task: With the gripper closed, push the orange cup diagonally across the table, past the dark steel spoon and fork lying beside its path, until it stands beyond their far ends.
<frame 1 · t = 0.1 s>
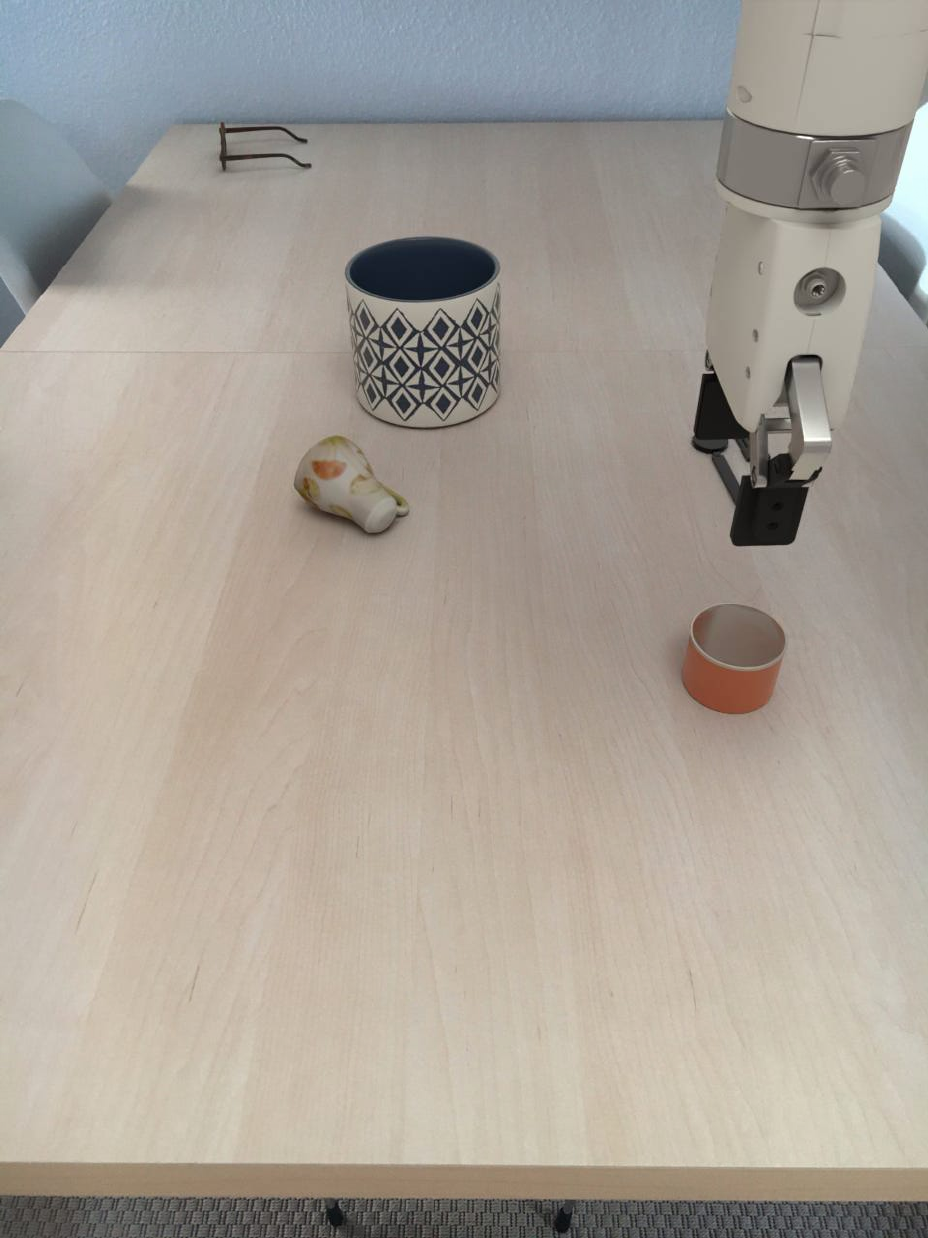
hand: (739, 486, 54), 25 cm above the table, tool pointing down, fingers open, 9 cm apart
planter: (428, 394, 110), on the table
fork: (765, 472, 98), on the table
orange cup: (727, 680, 77), on the table
eyeglasses: (266, 159, 167), on the table
mug: (357, 514, 94), on the table
spoon: (726, 475, 97), on the table
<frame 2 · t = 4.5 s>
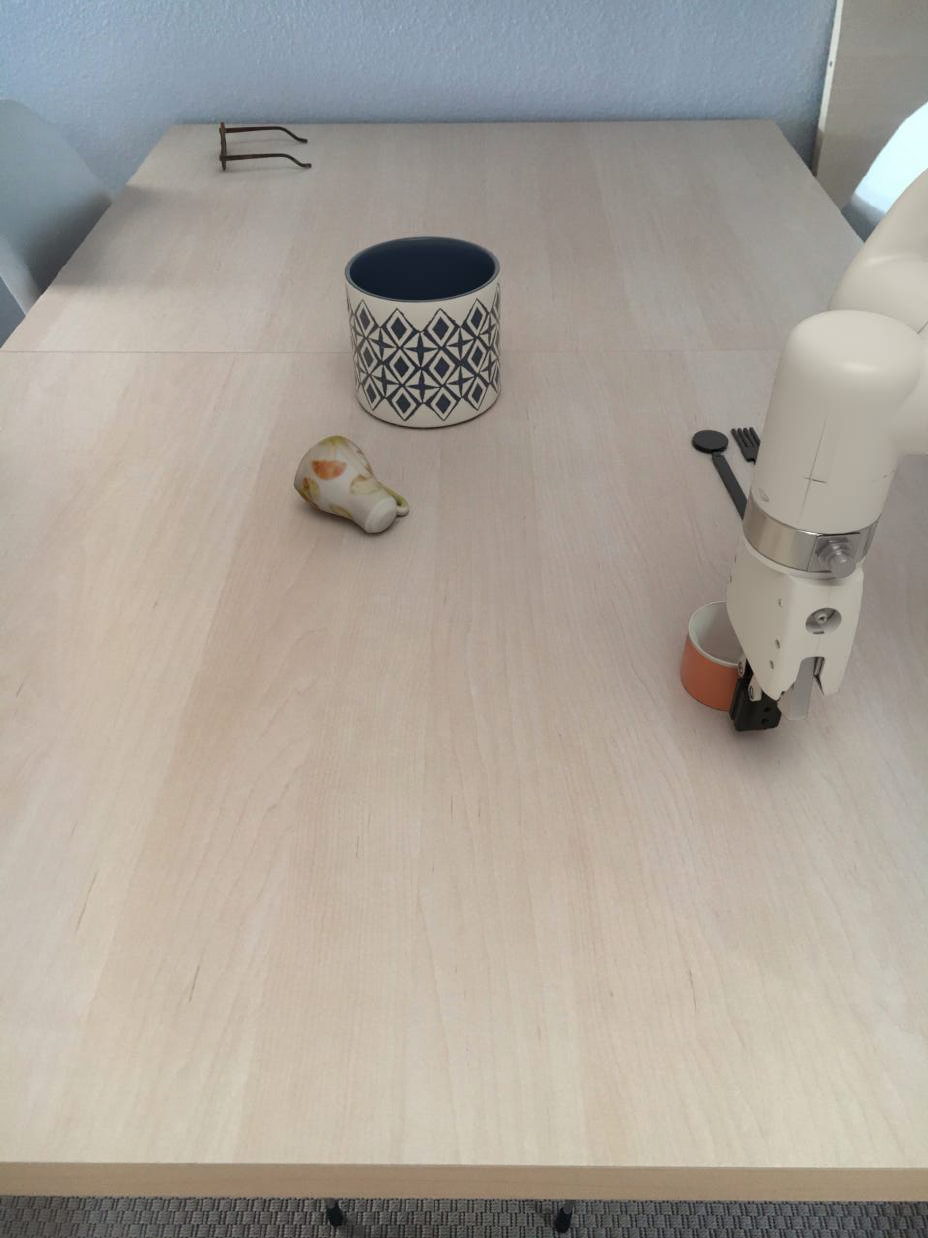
hand: (752, 721, 72), 2 cm above the table, tool pointing down, fingers closed
orange cup: (725, 678, 77), on the table, touching gripper
everything else where it was.
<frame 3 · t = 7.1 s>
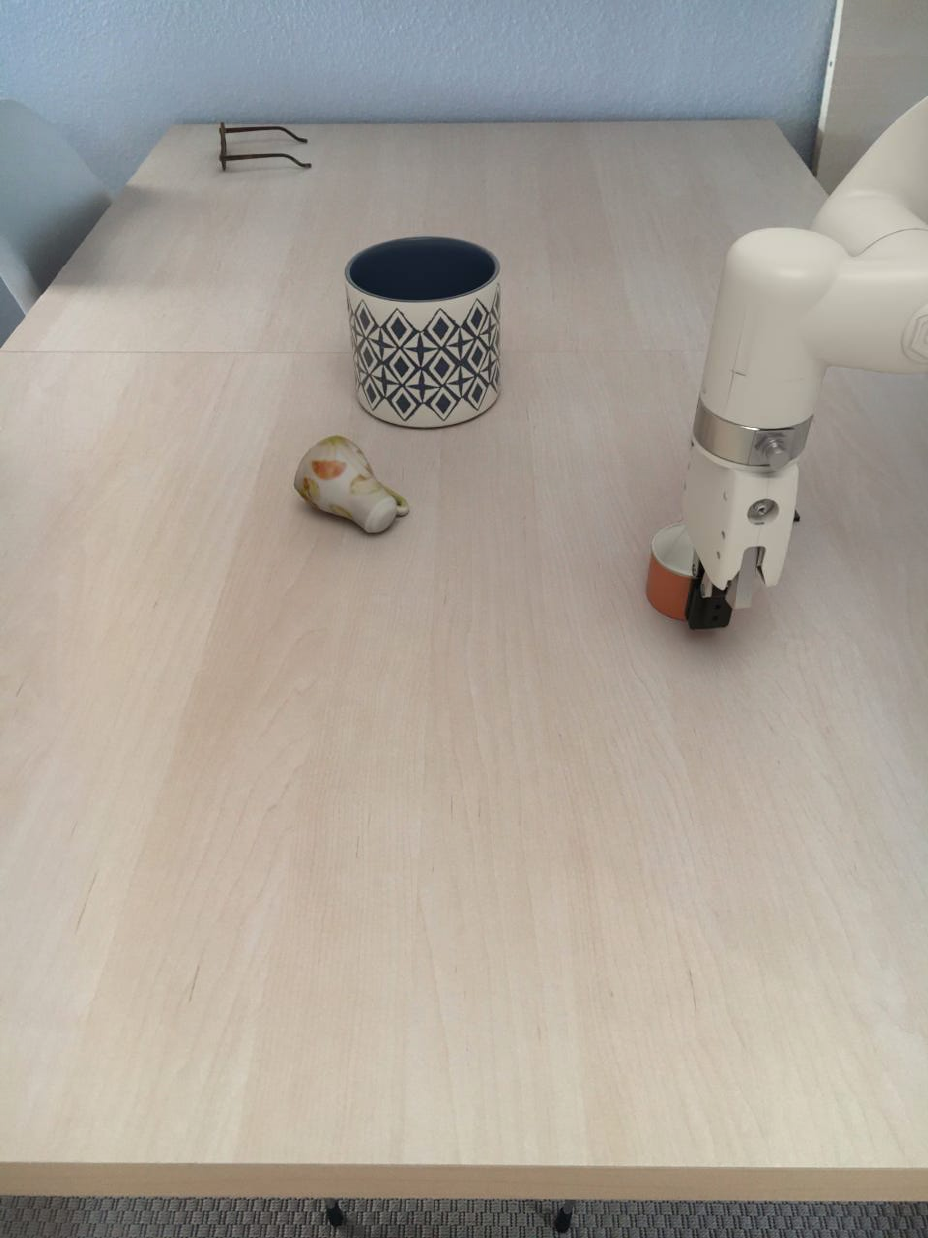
hand: (705, 621, 79), 2 cm above the table, tool pointing down, fingers closed
orange cup: (687, 593, 85), on the table, touching gripper
everything else where it was.
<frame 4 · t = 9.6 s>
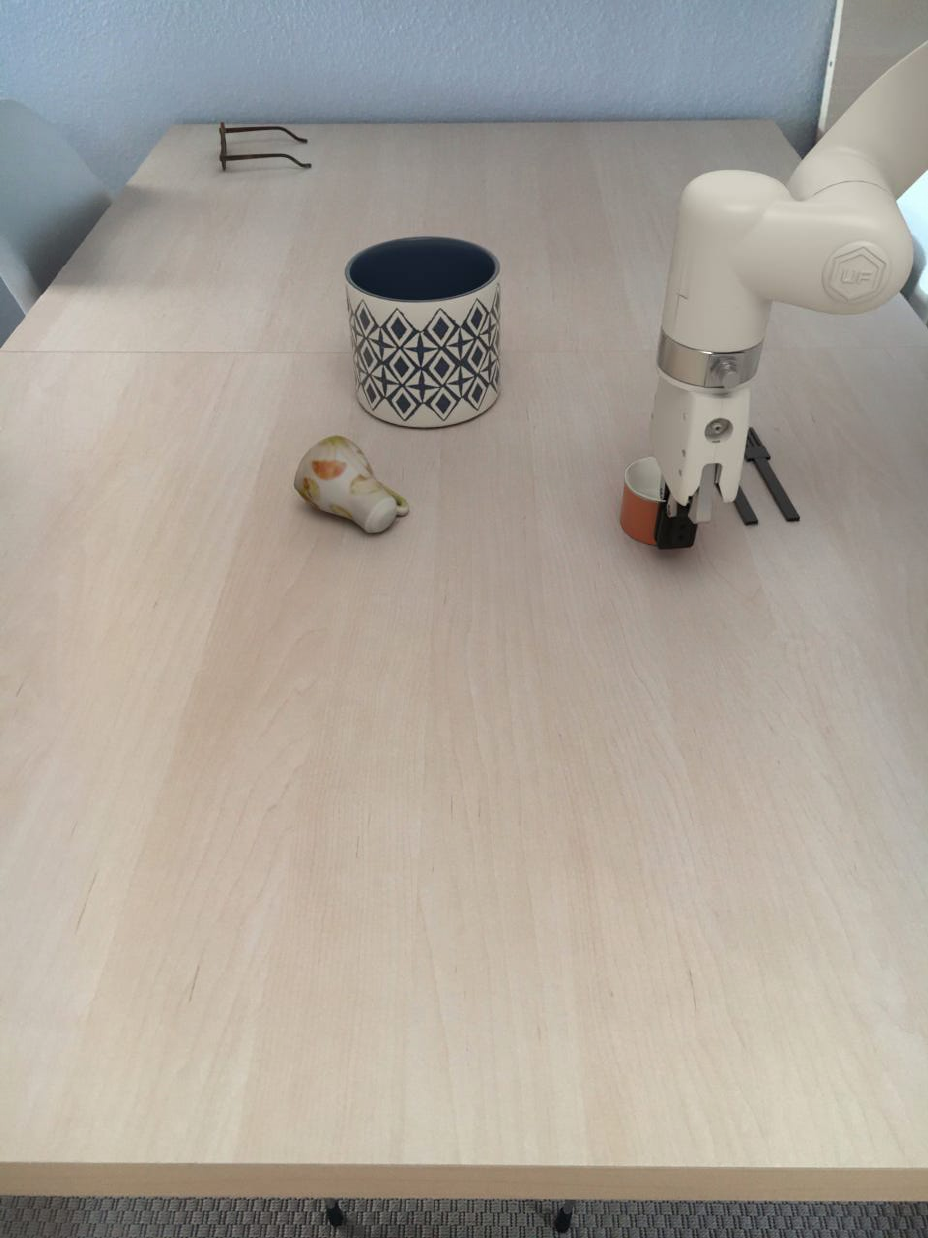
hand: (672, 542, 86), 2 cm above the table, tool pointing down, fingers closed
orange cup: (657, 522, 92), on the table, touching gripper
everything else where it was.
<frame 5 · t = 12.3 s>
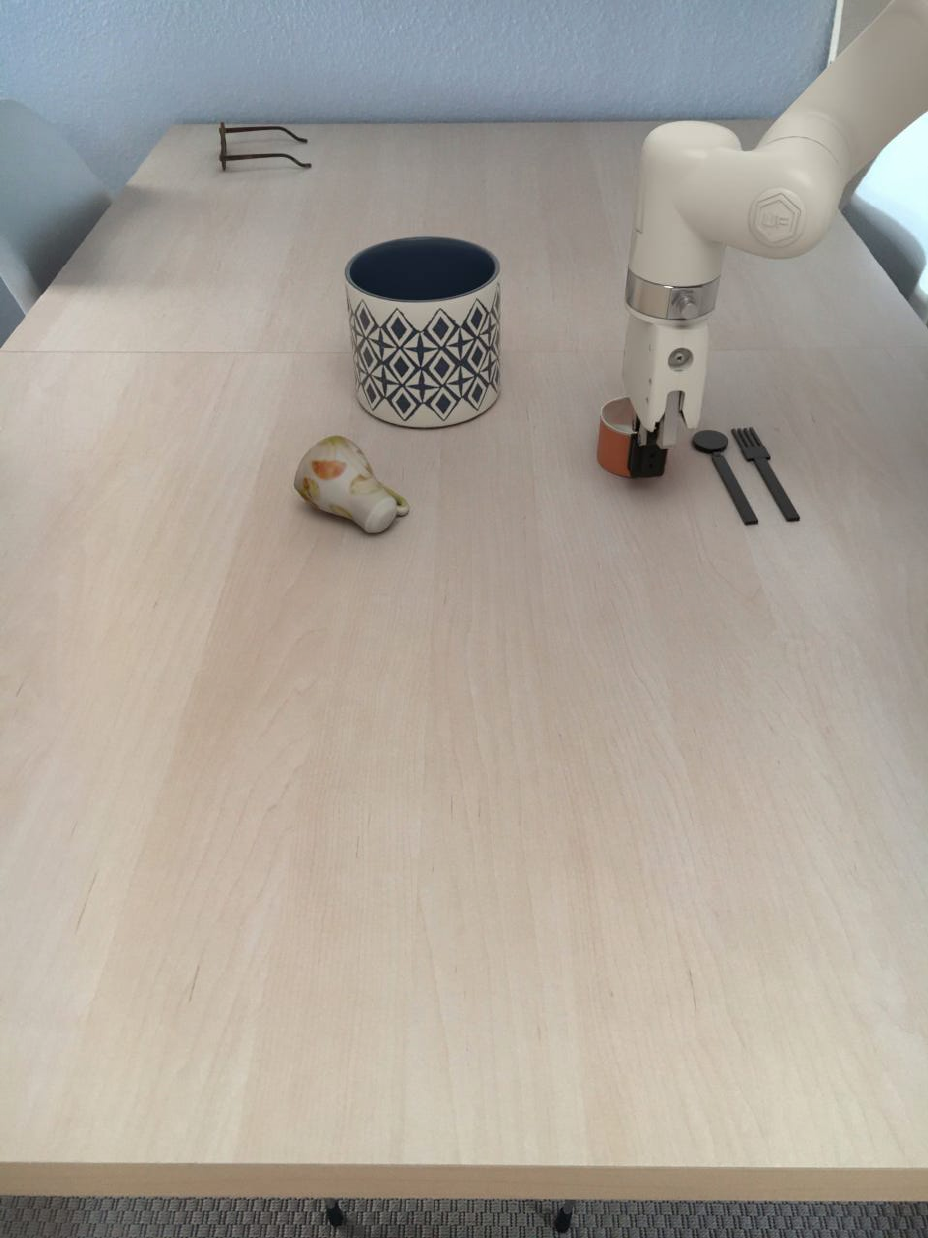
hand: (644, 472, 94), 2 cm above the table, tool pointing down, fingers closed
orange cup: (631, 457, 100), on the table, touching gripper
everything else where it was.
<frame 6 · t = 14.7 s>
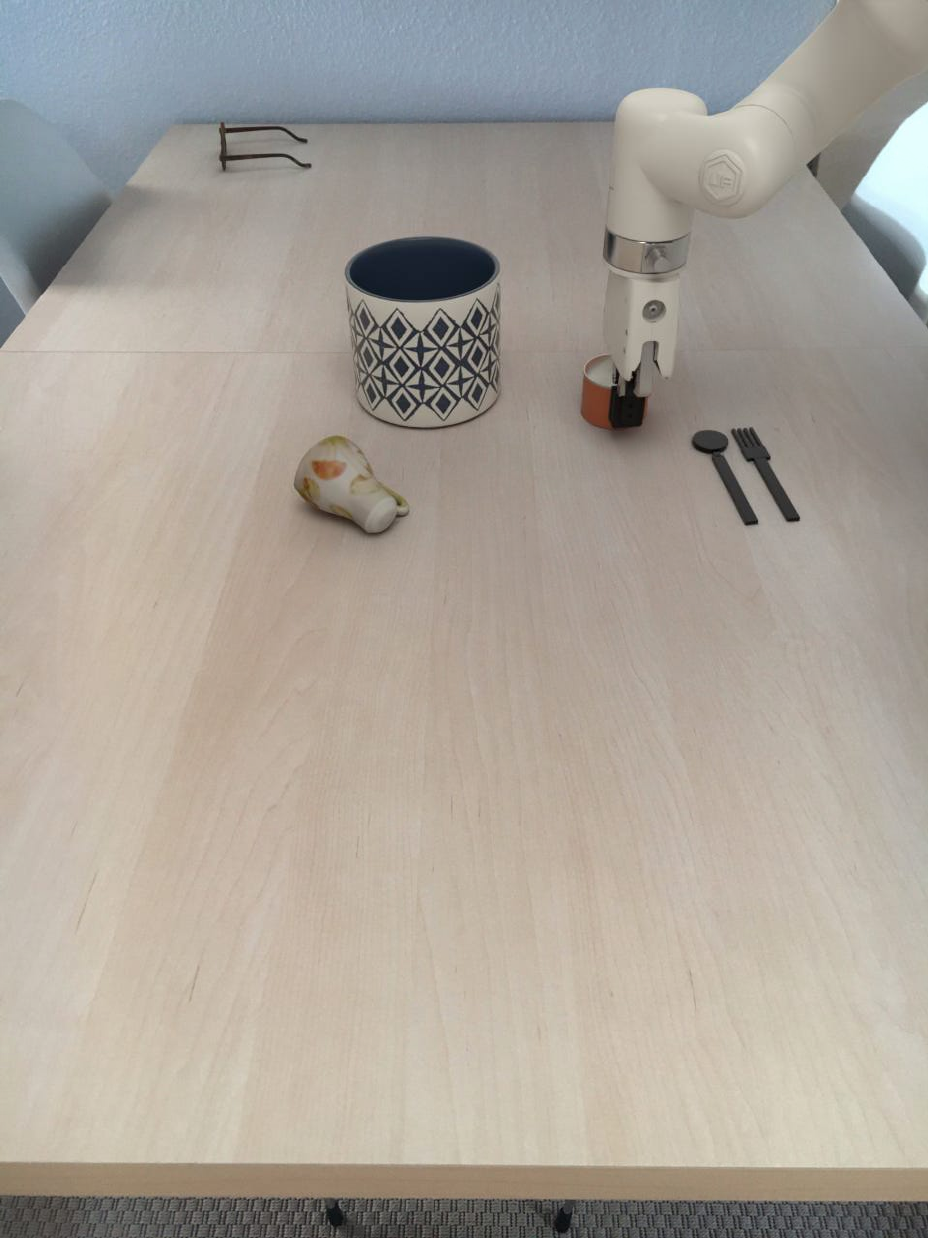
hand: (624, 422, 101), 2 cm above the table, tool pointing down, fingers closed
orange cup: (613, 411, 106), on the table, touching gripper
everything else where it was.
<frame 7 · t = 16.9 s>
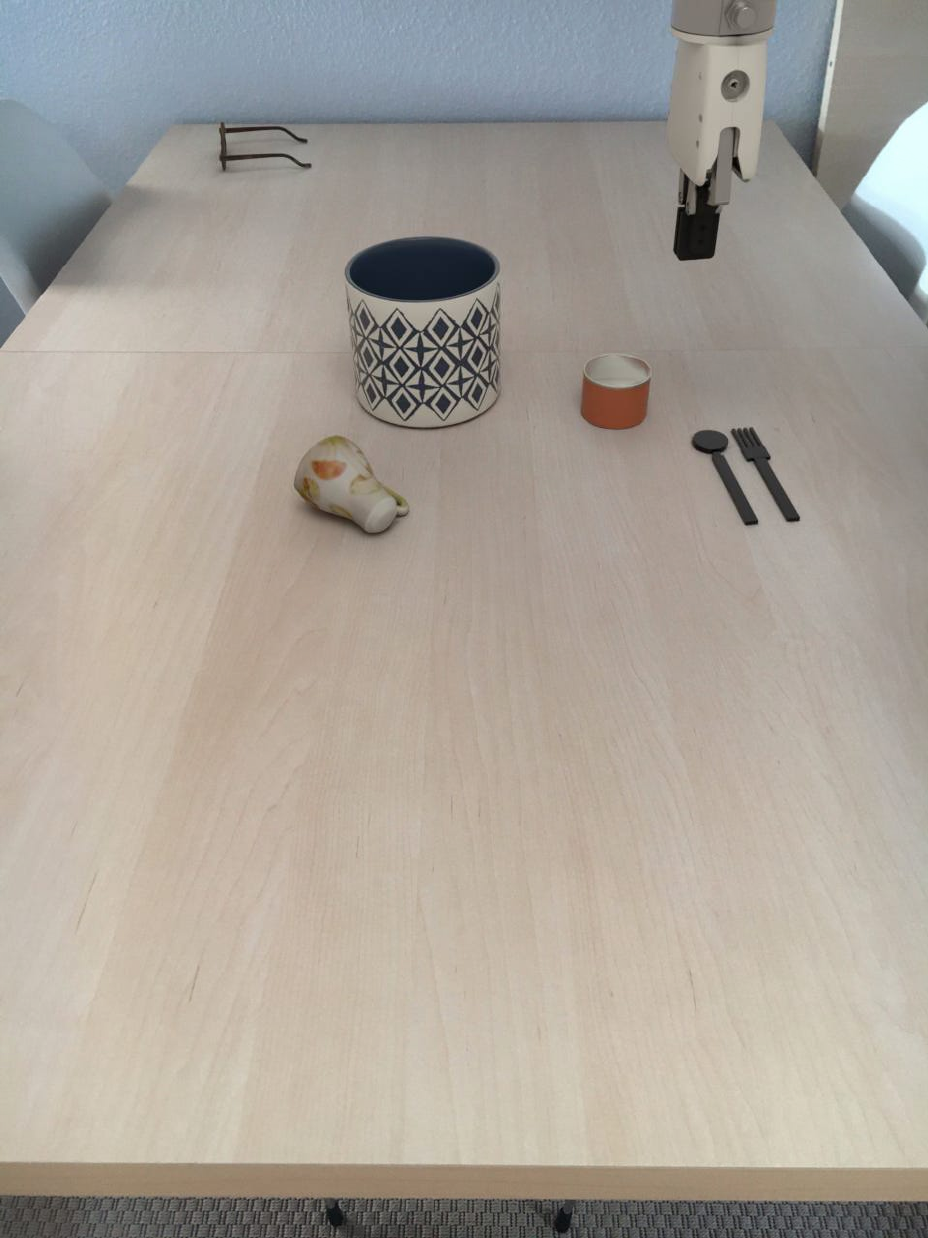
hand: (693, 255, 85), 21 cm above the table, tool pointing down, fingers closed
orange cup: (613, 411, 106), on the table
everything else where it was.
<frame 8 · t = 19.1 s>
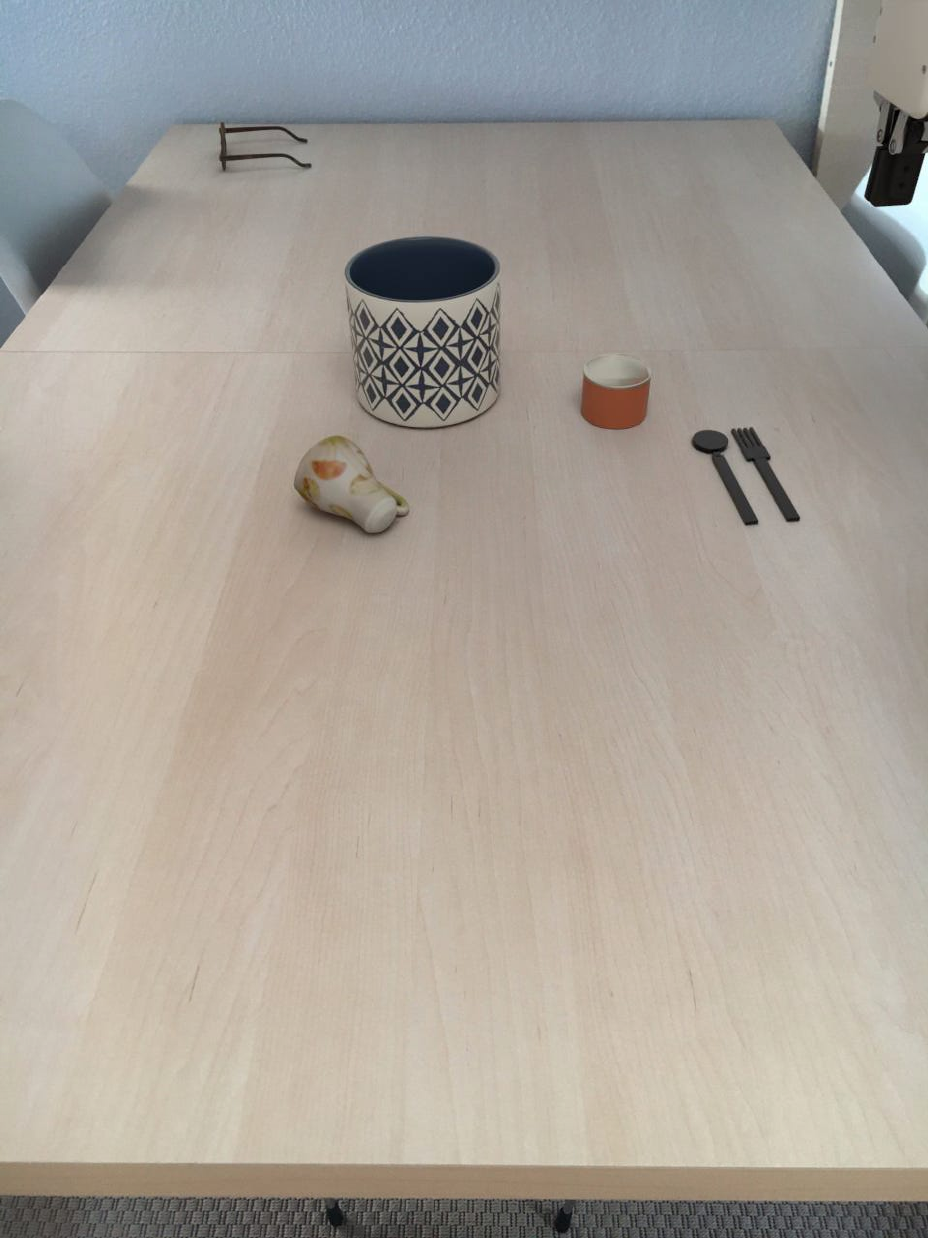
hand: (887, 201, 77), 27 cm above the table, tool pointing down, fingers closed
nothing on the table moved.
at the end: orange cup inside the target area on the table beside the spoon (0.8 cm from its centre), on the table; orange cup tilted 0° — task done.
